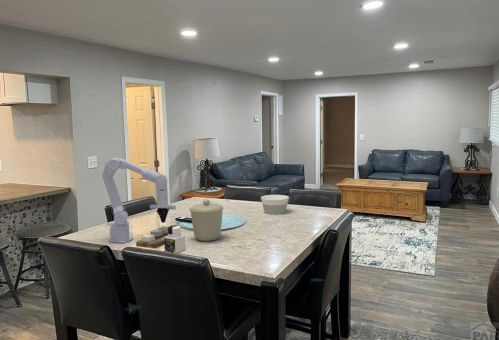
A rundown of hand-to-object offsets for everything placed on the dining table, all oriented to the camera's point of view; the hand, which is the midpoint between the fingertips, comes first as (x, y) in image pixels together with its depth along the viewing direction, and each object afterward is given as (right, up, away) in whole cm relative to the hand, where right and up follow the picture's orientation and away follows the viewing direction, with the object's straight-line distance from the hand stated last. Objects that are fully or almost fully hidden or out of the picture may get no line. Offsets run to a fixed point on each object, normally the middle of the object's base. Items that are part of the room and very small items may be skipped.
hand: (163, 222), depth 208 cm
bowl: (+64, -1, +58) cm, 86 cm away
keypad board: (-1, -9, -6) cm, 11 cm away
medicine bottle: (+10, -11, -22) cm, 27 cm away
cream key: (-5, -9, -11) cm, 15 cm away
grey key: (-2, -7, -5) cm, 9 cm away
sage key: (0, -6, +1) cm, 6 cm away
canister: (+24, -9, -3) cm, 26 cm away
